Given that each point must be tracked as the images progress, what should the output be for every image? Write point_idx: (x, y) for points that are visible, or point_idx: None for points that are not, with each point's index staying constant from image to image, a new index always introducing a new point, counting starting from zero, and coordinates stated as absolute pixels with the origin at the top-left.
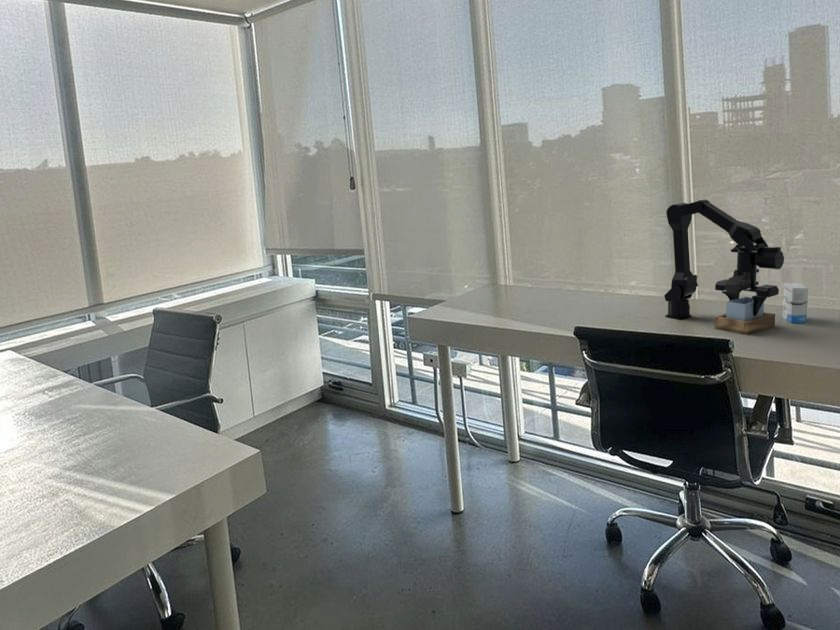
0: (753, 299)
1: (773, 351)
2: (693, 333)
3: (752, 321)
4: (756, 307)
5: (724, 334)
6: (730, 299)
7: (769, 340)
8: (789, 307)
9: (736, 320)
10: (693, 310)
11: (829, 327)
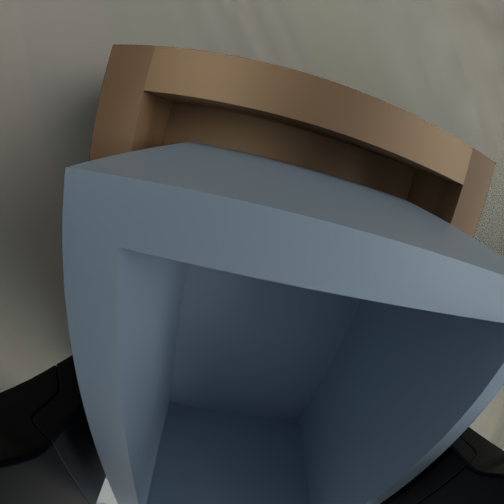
0: (11, 454)
1: None
2: (475, 7)
3: (93, 135)
4: (63, 361)
5: (318, 15)
6: (473, 441)
7: (18, 55)
8: (107, 488)
9: (265, 73)
10: (495, 406)
11: (2, 391)
